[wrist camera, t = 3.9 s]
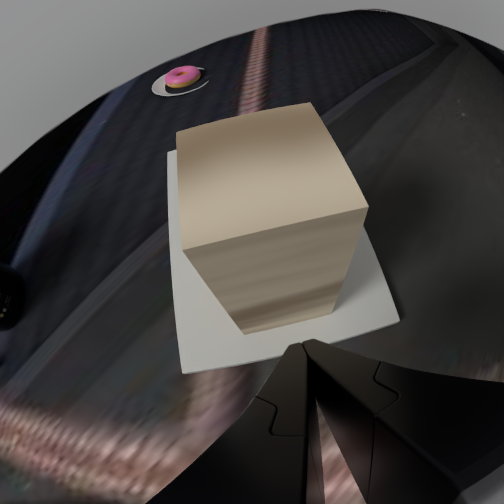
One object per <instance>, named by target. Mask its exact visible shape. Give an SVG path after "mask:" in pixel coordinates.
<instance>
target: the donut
mask: <svg viewBox="0 0 504 504" xmlns="http://www.w3.org/2000/svg"><path fill="white" fill-rule="evenodd" d="M199 69H203V68H197V67H194V66H183V67H178V68H175V69H173V70H171V71H170V72H169V73H167V74H165V75H163V76H162V77H160V78H159V79H157V80H156V81H155V82H154V84H153V86H152V91H153V92H154V93H155V94H157V95H161V96H175V95H181V94H185V93H189V92H192V91H194V90H197V89H199V88H201V87H202V86H204V85H205V84H206V83H207V82H206V83H205V84H204V85H202V86H200V87H199V88H197V89H194V90H192V91H189V92H185V93H181V94H169V93H167V92H166V91H165V84H166V85H168V86H169V87H172V88H182V87H186V86H189V85H191V84H193V83H195V82H196V81H197V80H198V79H199V78H200V76H201V74H200V71H199Z"/></svg>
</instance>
